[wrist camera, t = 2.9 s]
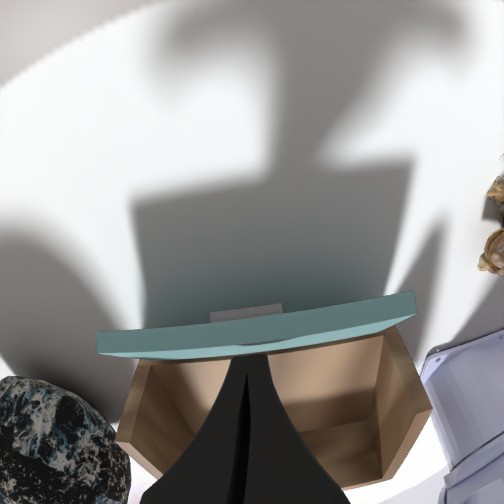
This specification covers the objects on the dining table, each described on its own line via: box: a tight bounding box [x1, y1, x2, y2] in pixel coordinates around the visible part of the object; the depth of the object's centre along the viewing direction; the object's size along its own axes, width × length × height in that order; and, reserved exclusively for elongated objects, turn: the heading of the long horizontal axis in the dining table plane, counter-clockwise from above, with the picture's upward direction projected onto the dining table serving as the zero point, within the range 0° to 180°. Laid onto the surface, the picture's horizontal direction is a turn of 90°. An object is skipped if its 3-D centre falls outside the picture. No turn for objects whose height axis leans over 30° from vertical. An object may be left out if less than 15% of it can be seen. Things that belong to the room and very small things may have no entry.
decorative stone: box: [0, 376, 131, 504], centre depth 17 cm, size 16×16×15 cm
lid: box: [96, 290, 418, 361], centre depth 15 cm, size 14×2×6 cm
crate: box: [114, 325, 433, 491], centre depth 19 cm, size 17×12×7 cm
